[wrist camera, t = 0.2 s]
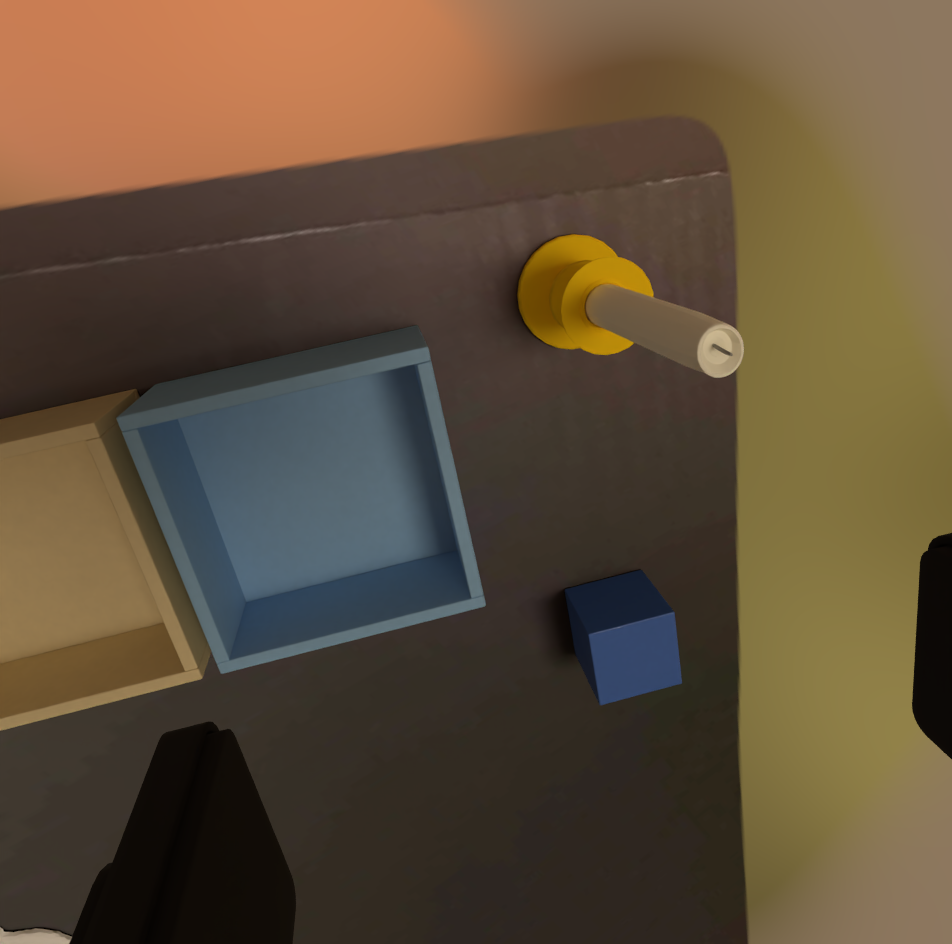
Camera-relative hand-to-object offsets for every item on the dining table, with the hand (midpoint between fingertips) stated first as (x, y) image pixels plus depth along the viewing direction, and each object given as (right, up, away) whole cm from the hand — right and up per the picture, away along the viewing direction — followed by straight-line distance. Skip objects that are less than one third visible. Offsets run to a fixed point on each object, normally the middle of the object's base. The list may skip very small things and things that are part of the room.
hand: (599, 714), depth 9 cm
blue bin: (-9, +3, +25) cm, 27 cm away
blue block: (+6, -5, +31) cm, 32 cm away
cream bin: (-22, 0, +24) cm, 33 cm away
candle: (+3, +12, +24) cm, 27 cm away
